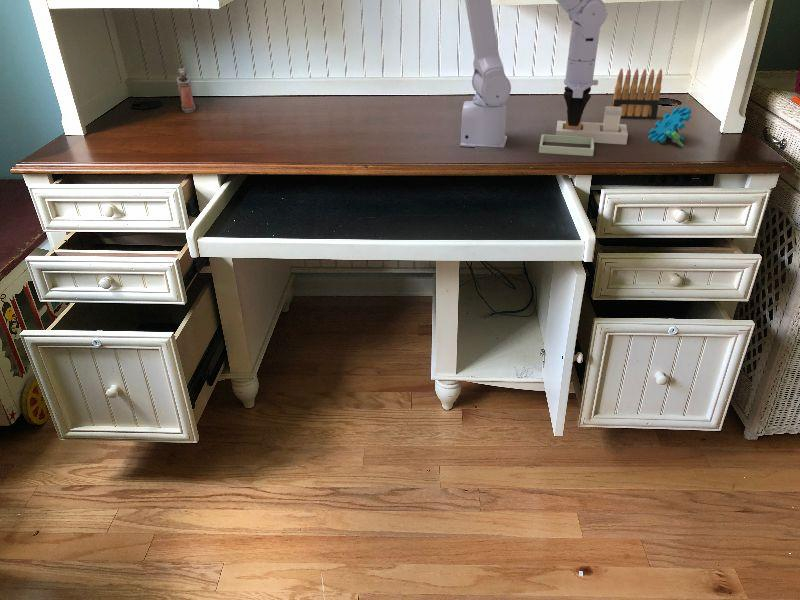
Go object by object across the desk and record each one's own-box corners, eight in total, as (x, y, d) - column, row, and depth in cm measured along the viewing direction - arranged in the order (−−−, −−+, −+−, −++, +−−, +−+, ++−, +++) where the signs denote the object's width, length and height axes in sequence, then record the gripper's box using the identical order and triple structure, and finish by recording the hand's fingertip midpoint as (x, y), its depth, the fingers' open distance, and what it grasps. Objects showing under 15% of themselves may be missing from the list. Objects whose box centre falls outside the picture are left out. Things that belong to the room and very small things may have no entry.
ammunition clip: (609, 120, 155) (618, 69, 148) (608, 118, 156) (617, 67, 150) (655, 122, 153) (666, 70, 147) (654, 119, 155) (664, 68, 149)
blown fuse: (563, 137, 142) (567, 108, 139) (564, 132, 145) (567, 104, 142) (579, 138, 142) (583, 109, 138) (579, 133, 144) (583, 105, 141)
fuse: (601, 139, 141) (605, 110, 137) (600, 134, 143) (605, 106, 140) (617, 140, 140) (622, 111, 137) (616, 135, 143) (621, 106, 139)
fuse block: (554, 142, 141) (556, 131, 140) (556, 131, 148) (557, 120, 146) (625, 147, 138) (627, 135, 137) (624, 135, 145) (626, 124, 143)
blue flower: (643, 126, 145) (684, 97, 139) (659, 144, 147) (699, 116, 141) (648, 148, 137) (692, 118, 131) (664, 167, 139) (708, 138, 133)
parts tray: (538, 155, 134) (539, 145, 133) (540, 143, 141) (541, 134, 140) (592, 158, 132) (594, 149, 131) (592, 146, 139) (593, 137, 138)
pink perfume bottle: (181, 105, 172) (174, 66, 167) (194, 103, 173) (187, 65, 168) (182, 113, 166) (174, 73, 161) (195, 111, 167) (188, 71, 161)
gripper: (602, 66, 128) (592, 133, 135) (600, 52, 140) (591, 114, 147) (565, 65, 129) (558, 131, 137) (567, 51, 141) (560, 113, 148)
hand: (573, 123), depth 142 cm, fingers closed on blown fuse, 3 cm apart
